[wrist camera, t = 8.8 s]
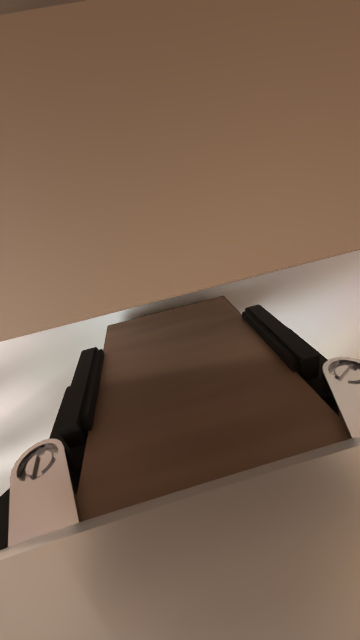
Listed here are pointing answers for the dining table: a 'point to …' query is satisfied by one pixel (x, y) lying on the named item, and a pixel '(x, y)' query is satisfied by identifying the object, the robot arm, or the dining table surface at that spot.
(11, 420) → the dining table surface
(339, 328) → the dining table surface
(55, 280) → the domino
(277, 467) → the robot arm
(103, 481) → the domino
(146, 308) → the dining table surface
